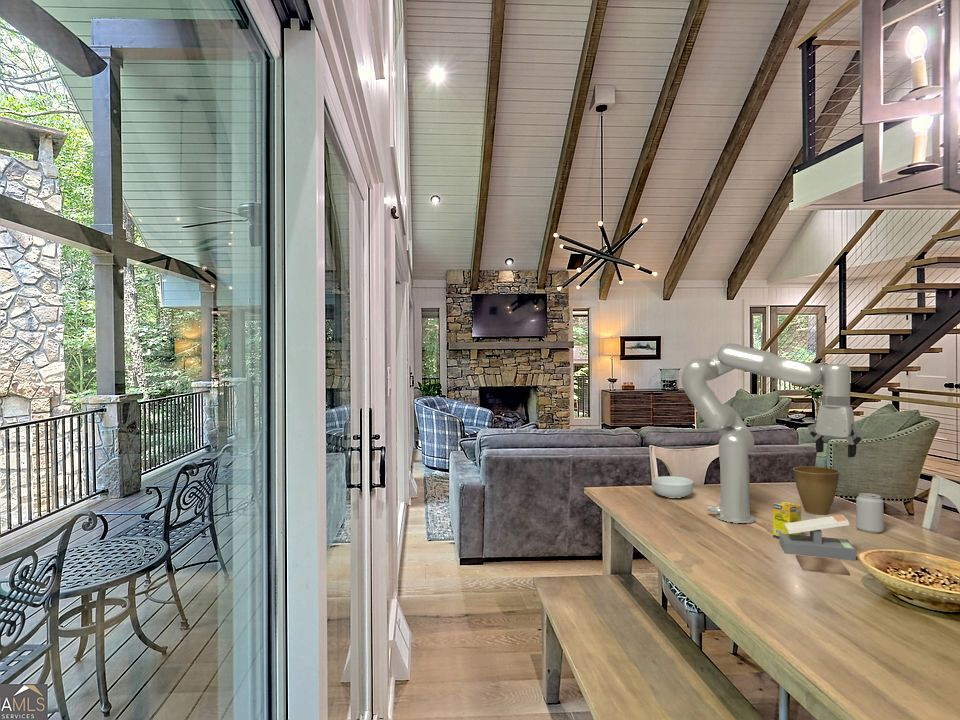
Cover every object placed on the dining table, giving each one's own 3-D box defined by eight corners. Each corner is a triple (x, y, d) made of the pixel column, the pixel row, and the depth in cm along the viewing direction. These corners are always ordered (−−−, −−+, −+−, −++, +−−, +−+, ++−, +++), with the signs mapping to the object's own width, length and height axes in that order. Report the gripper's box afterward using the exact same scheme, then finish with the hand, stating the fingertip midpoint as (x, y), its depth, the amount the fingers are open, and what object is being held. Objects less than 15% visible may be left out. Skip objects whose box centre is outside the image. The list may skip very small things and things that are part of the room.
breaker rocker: (788, 534, 167) (787, 529, 167) (785, 527, 174) (783, 522, 174) (849, 525, 162) (848, 520, 162) (843, 518, 168) (841, 513, 169)
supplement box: (790, 542, 176) (789, 507, 176) (772, 537, 182) (772, 503, 182) (802, 539, 179) (801, 505, 179) (784, 534, 184) (784, 500, 184)
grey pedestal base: (784, 553, 166) (784, 530, 166) (779, 542, 176) (779, 521, 176) (855, 560, 160) (855, 536, 160) (846, 549, 169) (846, 526, 169)
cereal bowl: (647, 492, 245) (647, 475, 245) (685, 492, 244) (685, 475, 244) (658, 501, 228) (658, 484, 228) (699, 502, 227) (699, 484, 227)
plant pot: (813, 505, 220) (813, 464, 220) (849, 515, 206) (849, 471, 206) (784, 509, 215) (783, 467, 215) (818, 519, 201) (818, 474, 201)
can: (888, 534, 183) (888, 497, 183) (862, 533, 185) (862, 496, 185) (876, 528, 191) (876, 492, 191) (852, 526, 192) (852, 491, 192)
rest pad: (802, 570, 153) (802, 567, 153) (795, 556, 163) (795, 554, 163) (849, 575, 149) (849, 573, 149) (839, 561, 159) (839, 559, 159)
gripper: (802, 400, 189) (802, 451, 189) (859, 404, 174) (858, 459, 174) (815, 399, 193) (814, 449, 193) (871, 403, 178) (870, 457, 178)
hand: (835, 454), depth 183 cm, fingers open, 9 cm apart
